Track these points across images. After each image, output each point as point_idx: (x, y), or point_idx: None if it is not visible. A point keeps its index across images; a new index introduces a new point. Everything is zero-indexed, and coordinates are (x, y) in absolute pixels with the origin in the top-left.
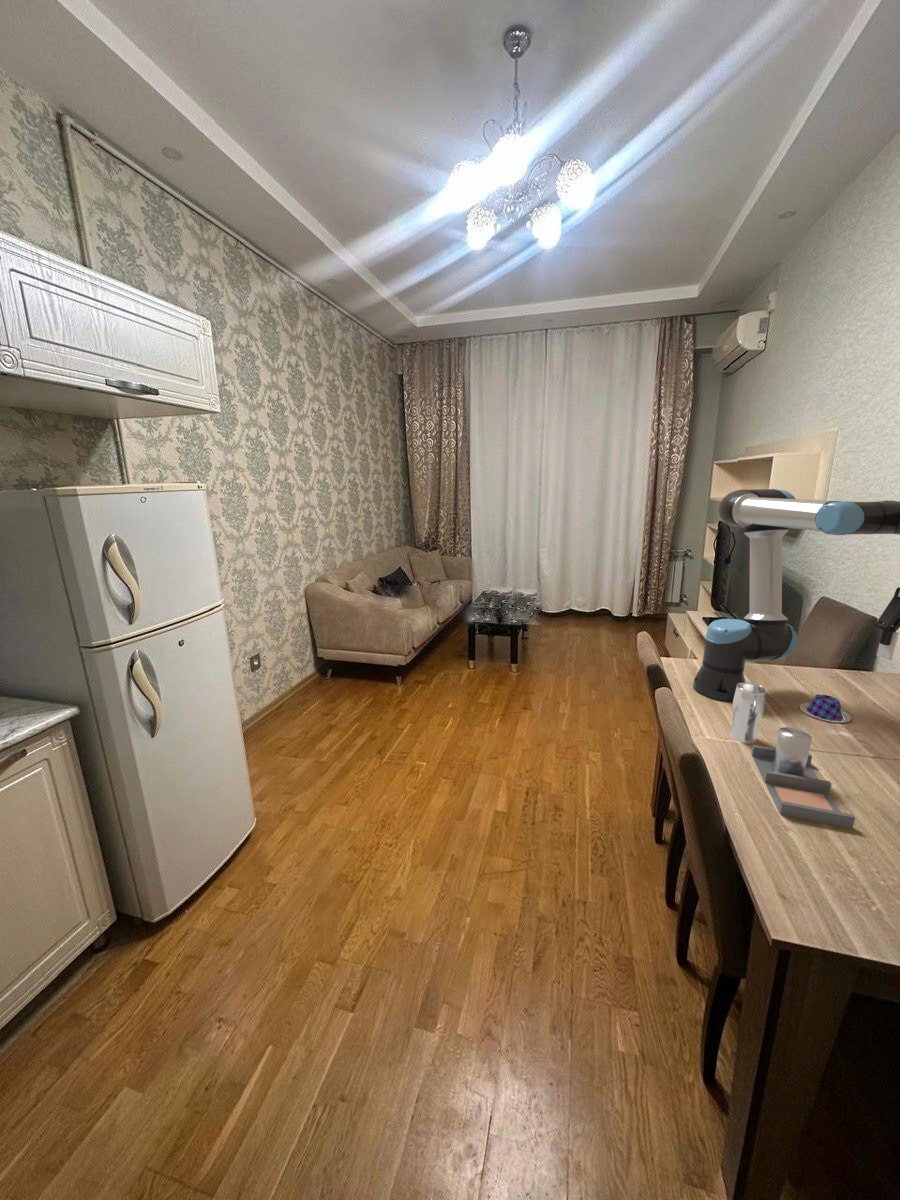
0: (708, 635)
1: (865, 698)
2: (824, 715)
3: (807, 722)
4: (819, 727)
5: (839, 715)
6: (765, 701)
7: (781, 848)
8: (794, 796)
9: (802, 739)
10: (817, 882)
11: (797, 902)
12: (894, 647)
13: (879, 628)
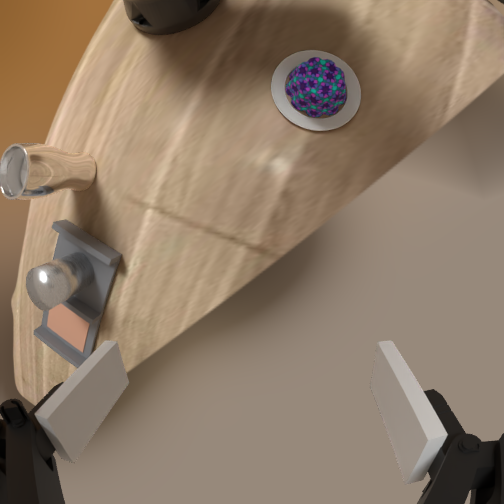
0: None
1: (450, 70)
2: (295, 104)
3: (244, 115)
4: (251, 136)
5: (328, 111)
6: (38, 190)
7: (33, 353)
8: (61, 313)
9: (41, 305)
10: (43, 382)
11: (29, 385)
12: (104, 415)
13: (18, 404)
